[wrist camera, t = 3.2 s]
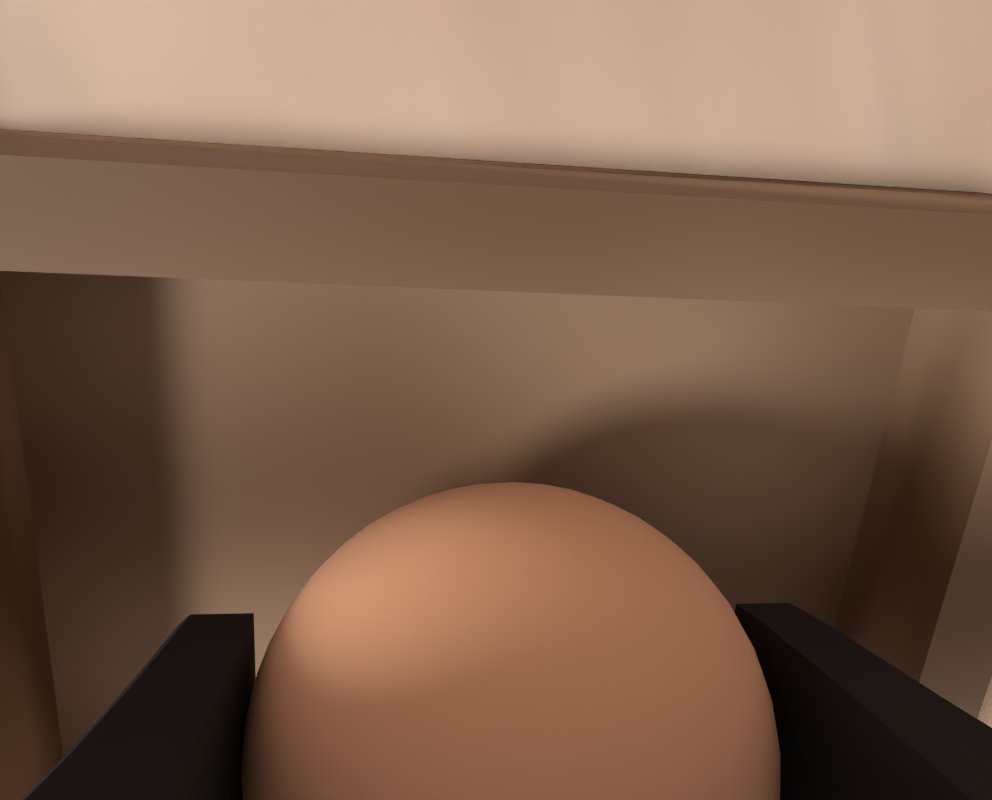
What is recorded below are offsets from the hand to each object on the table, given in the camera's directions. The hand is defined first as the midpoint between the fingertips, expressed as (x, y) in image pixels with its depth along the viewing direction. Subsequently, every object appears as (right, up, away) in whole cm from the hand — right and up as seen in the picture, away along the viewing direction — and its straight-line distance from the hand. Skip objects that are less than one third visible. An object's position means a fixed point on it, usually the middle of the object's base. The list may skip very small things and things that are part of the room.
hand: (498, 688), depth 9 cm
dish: (0, +1, +3) cm, 3 cm away
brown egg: (0, +1, +2) cm, 2 cm away
